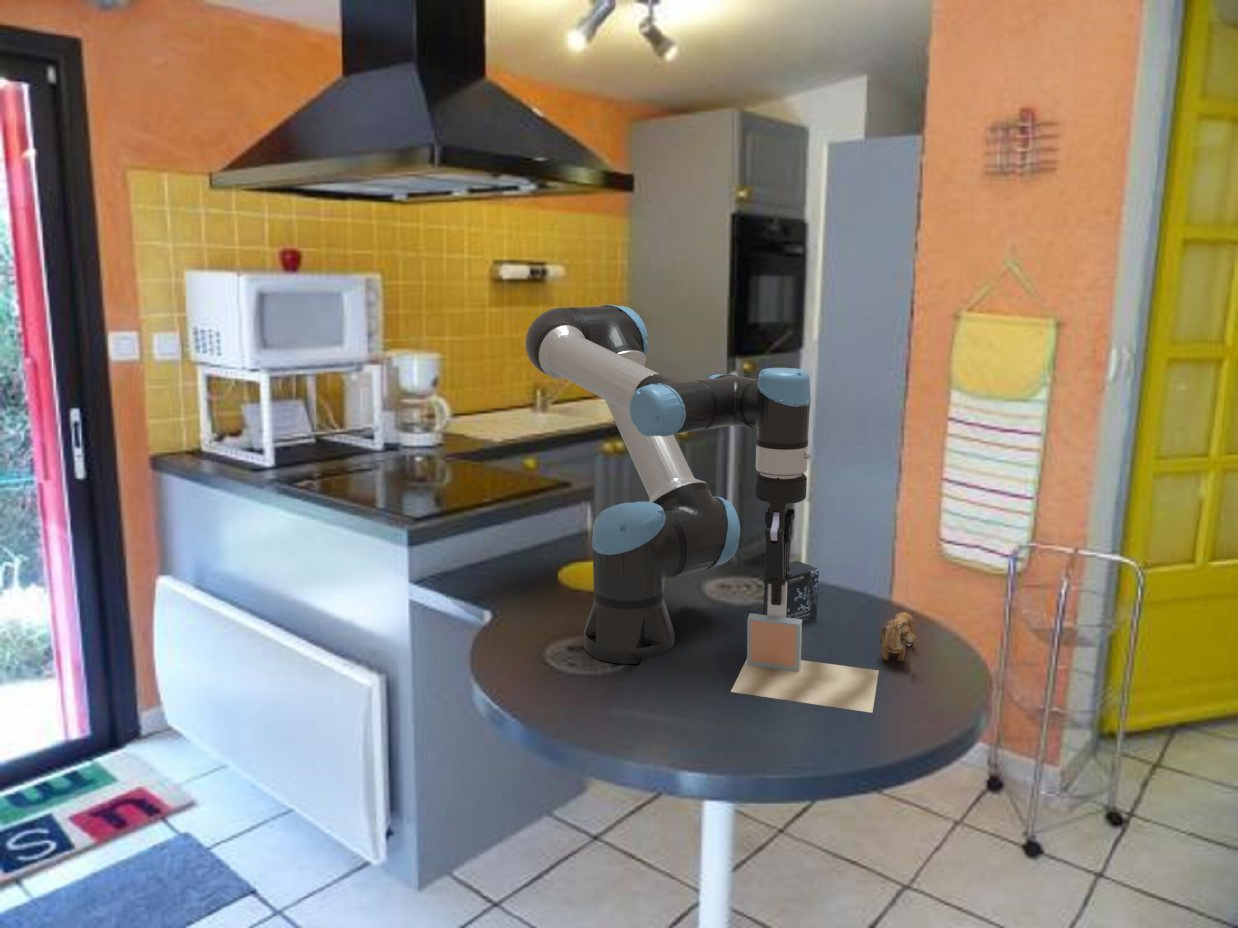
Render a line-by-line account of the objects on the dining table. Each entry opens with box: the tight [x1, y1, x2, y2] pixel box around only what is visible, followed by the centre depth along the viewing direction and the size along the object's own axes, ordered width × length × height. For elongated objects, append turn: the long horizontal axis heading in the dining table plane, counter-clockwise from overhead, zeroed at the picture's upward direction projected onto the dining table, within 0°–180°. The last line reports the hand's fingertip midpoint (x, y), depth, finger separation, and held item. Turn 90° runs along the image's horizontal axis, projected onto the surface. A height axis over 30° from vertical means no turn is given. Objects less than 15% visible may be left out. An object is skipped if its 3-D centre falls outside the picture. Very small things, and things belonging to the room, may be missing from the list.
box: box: [762, 560, 820, 625], centre depth 158 cm, size 8×6×11 cm
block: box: [746, 613, 803, 672], centre depth 139 cm, size 8×2×8 cm, turn 71°
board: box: [730, 658, 880, 714], centre depth 136 cm, size 20×14×1 cm
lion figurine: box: [880, 611, 917, 662], centre depth 144 cm, size 15×5×9 cm, turn 160°
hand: (776, 621), depth 140 cm, fingers closed
